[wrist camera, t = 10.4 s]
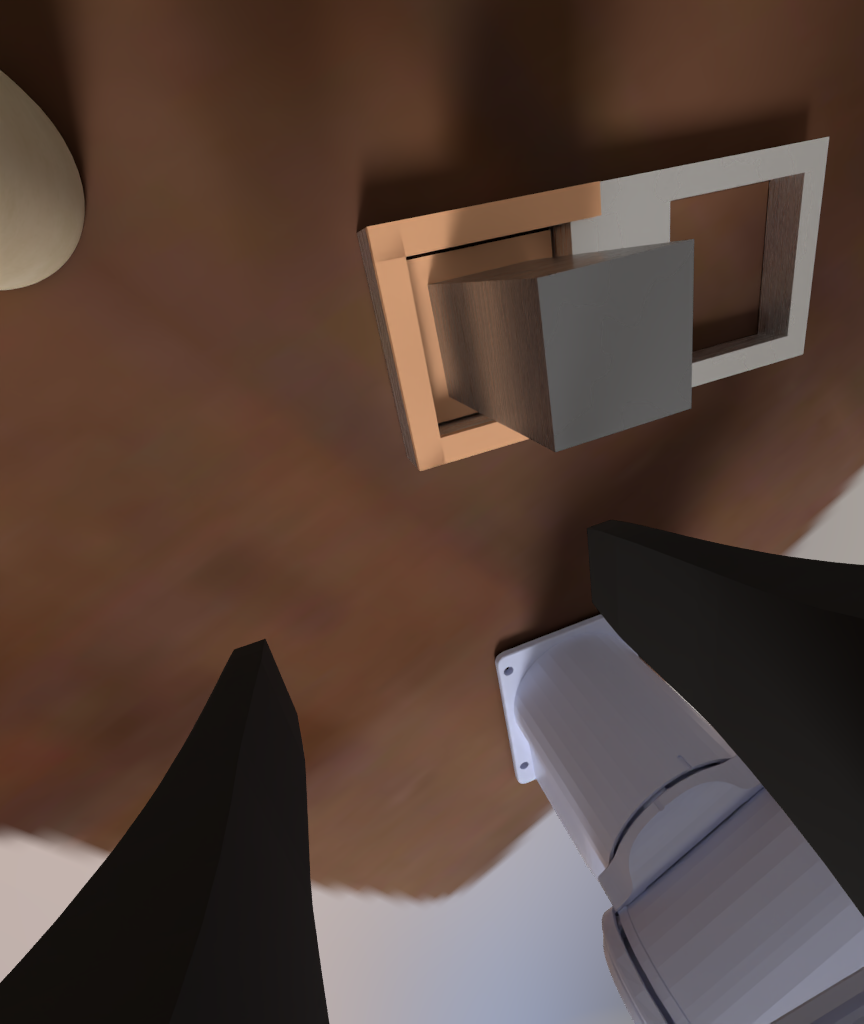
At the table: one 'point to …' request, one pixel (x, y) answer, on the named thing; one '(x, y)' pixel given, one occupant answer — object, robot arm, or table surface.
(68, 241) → the candle
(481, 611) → the table surface
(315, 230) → the table surface
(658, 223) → the orange and grey frame
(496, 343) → the grey rectangular block
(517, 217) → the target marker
